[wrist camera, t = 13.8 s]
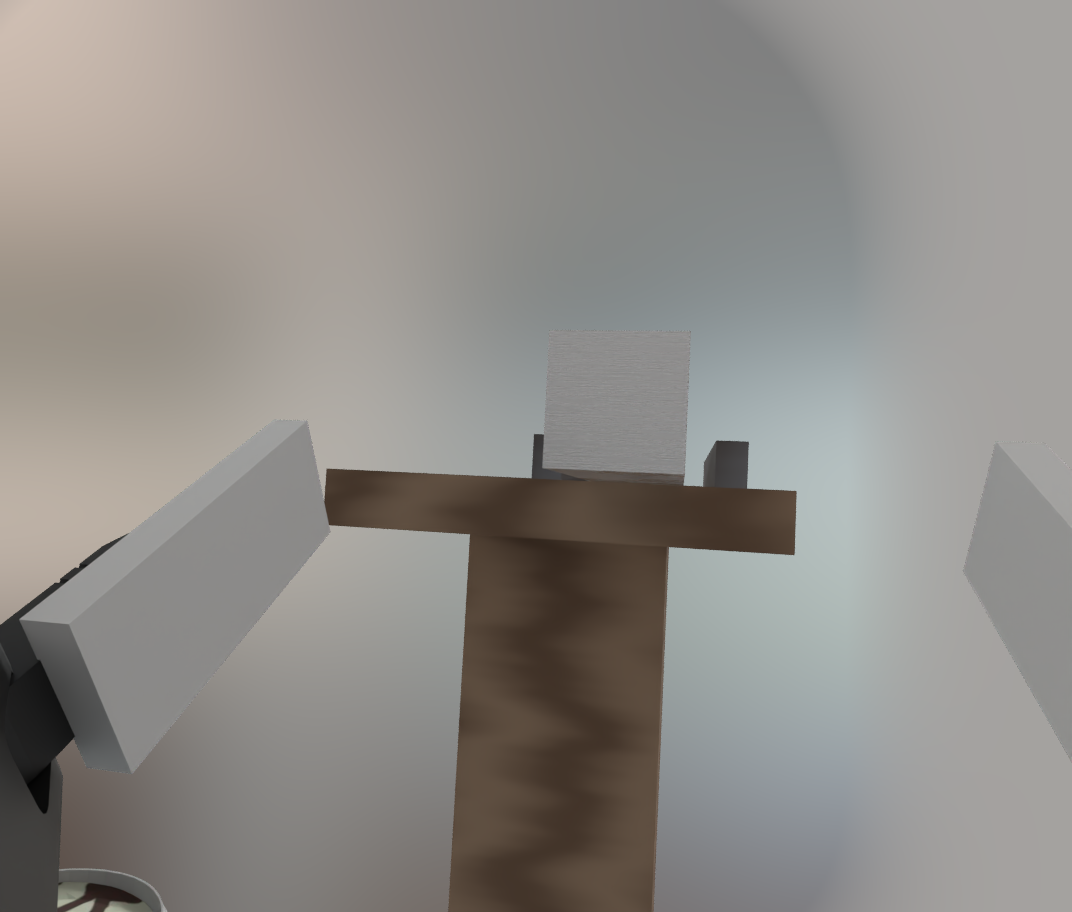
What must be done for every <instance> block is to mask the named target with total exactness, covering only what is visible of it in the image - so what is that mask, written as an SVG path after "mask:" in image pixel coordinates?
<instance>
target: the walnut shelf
mask: <svg viewBox="0 0 1072 912" xmlns="http://www.w3.org/2000/svg"><path fill="white" fill-rule="evenodd" d="M748 445H749V442H739V441H716V442H715V444H714V446H713V448H712V449H711V451H710V453H709V455H708V457H707V458H706V460H705V462H704V480H703V481H704V482H703V487H700V486H679V485H658V484H637V483H616V482H595V481H588V480H584V479H581V478H577V477H573V476H570V475H566V474H562V473H559V472H555V471H551V470H548V469H544V468H542V465H543V446H544V435H542V434H534V446H533V465H532V478H511V477H489V476H469V475H448V474H427V473H407V472H385V471H364V470H343V469H327V473H326V486H325V501H324V504H325V508H326V513H327V518H328V523H329V525H336V526H350V527H366V528H382V529H398V530H413V531H428V532H444V533H459V534H470V545H469V563H468V580H467V598H466V614H465V632H464V633H465V634H464V649H463V666H462V667H463V668H462V683H461V701H460V718H459V735H458V736H459V737H458V752H457V753H458V754H457V771H456V787H455V805H454V822H453V838H452V857H451V873H450V891H449V907H448V908H449V909H448V912H653V911H654V888H655V863H656V840H657V817H658V815H657V814H658V791H659V769H660V745H661V721H662V720H661V719H662V698H663V674H664V650H665V626H666V602H667V579H668V555H669V547H677V548H693V549H709V550H724V551H739V552H754V553H755V552H756V553H770V554H785V555H794V553H795V521H796V491H784V490H763V489H747V474H748V447H749V446H748Z"/></svg>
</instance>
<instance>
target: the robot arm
mask: <svg viewBox="0 0 1072 912" xmlns="http://www.w3.org/2000/svg"><path fill="white" fill-rule="evenodd" d="M329 533H330V528H329V523H328V518H327V513H326V508H325V504H324V500H323V494H322V489H321V485H320V480H319V475H318V470H317V466H316V461H315V456H314V451H313V446H312V441H311V436H310V432H309V427H308V422H307V421H300V420H297V421H296V420H273V421H272V422H271V423H269V424H268V425H267V426H265V427H264V428H263V429H262V430H260V431H259V432H258V433H256V434H255V435H254V436H253V437H251V438H250V439H249V440H248V441H246V442H245V443H244V444H242V445H241V446H240V447H239V448H237V449H236V450H235V451H234V452H232V453H231V454H230V455H229V456H227V457H226V458H225V459H223V460H222V461H221V462H219V463H218V464H217V465H216V466H215V467H213V468H212V469H211V470H209V471H208V472H207V473H205V474H204V475H203V476H202V477H200V478H199V479H198V480H197V481H195V482H194V483H193V484H191V485H190V486H189V487H188V488H186V489H185V490H184V491H183V492H181V493H180V494H179V495H177V496H176V497H175V498H174V499H172V500H171V501H170V502H168V503H167V504H166V505H165V506H163V507H162V508H161V509H159V510H158V511H157V512H156V513H155V514H153V515H152V516H151V517H149V518H148V519H147V520H145V521H144V522H143V523H142V524H140V525H139V526H138V527H137V528H135V529H134V530H133V531H131V532H130V533H128V534H126V535H124V536H122V537H120V538H118V539H116V540H114V541H112V542H110V543H108V544H106V545H104V546H102V547H101V548H100V549H99V550H97V551H96V552H94V553H93V554H92V555H91V556H89V557H88V558H87V559H85V560H84V561H83V562H82V563H80V566H79V568H74V569H72V570H71V571H70V572H69V573H67V574H66V575H65V576H64V577H62V578H61V579H60V583H54V584H53V585H52V586H50V587H49V588H48V589H46V590H45V591H44V592H43V593H41V594H40V595H39V596H37V597H36V598H35V599H34V600H32V601H31V602H30V603H28V604H27V605H26V606H24V607H23V608H22V609H21V610H19V611H18V612H17V613H15V614H14V615H13V616H11V617H10V618H9V619H7V620H6V621H5V622H4V623H2V624H1V625H0V912H57V906H58V881H59V857H60V832H61V807H62V781H63V775H62V772H61V769H60V766H59V764H58V762H57V760H56V758H55V757H56V756H57V755H58V754H59V753H60V752H61V751H62V750H63V749H64V748H65V747H66V746H67V745H68V744H69V742H70V741H71V740H72V739H73V738H74V740H75V743H76V744H77V747H78V749H79V751H80V753H81V756H82V758H83V760H84V762H85V764H86V767H87V768H93V769H100V770H107V771H114V772H122V773H129V774H132V773H133V772H134V771H135V770H136V768H137V767H138V766H139V765H140V764H141V762H142V761H143V760H144V759H145V757H146V756H147V755H148V754H149V753H150V751H151V750H152V749H153V748H154V747H155V745H156V744H157V743H158V742H159V741H160V739H161V738H162V737H163V736H164V734H165V733H166V732H167V731H168V729H169V728H170V727H171V726H172V725H173V723H174V722H175V721H176V720H177V719H178V717H179V716H180V715H181V714H182V713H183V711H184V710H185V709H186V708H187V706H188V705H189V704H190V703H191V702H192V700H193V699H194V698H195V697H196V695H197V694H198V693H199V692H200V691H201V689H202V688H203V687H204V686H205V684H206V683H207V682H208V681H209V680H210V678H211V677H212V676H213V675H214V674H215V672H216V671H217V670H218V669H219V667H220V666H221V665H222V664H223V663H224V661H225V660H226V659H227V658H228V656H229V655H230V654H231V653H232V652H233V650H234V649H235V648H236V646H237V645H238V644H239V643H240V642H241V641H242V639H243V638H244V637H245V636H246V634H247V633H248V632H249V631H250V630H251V628H252V627H253V626H254V625H255V624H256V622H257V621H258V620H259V619H260V618H261V616H262V615H263V613H265V611H266V610H267V609H268V608H269V607H270V605H271V604H272V603H273V602H274V600H275V599H276V598H277V597H278V596H279V594H280V593H281V592H282V591H283V589H284V588H285V587H286V586H287V585H288V583H289V582H290V581H291V580H292V579H293V577H294V576H295V575H296V574H297V572H298V571H299V570H300V569H301V568H302V566H303V565H304V564H305V563H306V561H307V560H308V559H309V558H310V557H311V555H312V554H313V553H314V552H315V550H316V549H317V548H318V547H319V546H320V544H321V543H322V542H323V541H324V539H325V538H326V537H327V536H328V535H329ZM963 572H964V574H965V576H966V577H967V579H968V581H969V582H970V584H971V586H972V588H973V589H974V591H975V593H976V595H977V597H978V598H979V600H980V602H981V604H982V605H983V607H984V609H985V611H986V613H987V614H988V616H989V618H990V619H991V621H992V623H993V625H994V626H995V628H996V630H997V632H998V634H999V635H1000V637H1001V639H1002V641H1003V642H1004V644H1005V646H1006V648H1007V649H1008V651H1009V653H1010V655H1011V656H1012V658H1013V660H1014V662H1015V663H1016V665H1017V667H1018V669H1019V670H1020V672H1021V674H1022V676H1023V678H1024V679H1025V681H1026V683H1027V684H1028V686H1029V688H1030V690H1031V692H1032V693H1033V695H1034V697H1035V699H1036V700H1037V702H1038V704H1039V706H1040V707H1041V709H1042V711H1043V713H1044V714H1045V716H1046V718H1047V719H1048V721H1049V723H1050V725H1051V727H1052V728H1053V730H1054V732H1055V734H1056V736H1057V737H1058V739H1059V741H1060V743H1061V744H1062V746H1063V748H1064V750H1065V751H1066V753H1067V755H1068V757H1069V758H1070V760H1071V762H1072V470H1071V469H1070V468H1069V467H1068V466H1067V465H1066V464H1065V463H1064V462H1063V461H1062V460H1061V459H1060V458H1059V457H1058V456H1057V455H1056V454H1055V453H1054V452H1053V451H1052V450H1051V449H1050V448H1049V447H1048V446H1047V445H1046V444H1045V443H1032V442H1031V443H1030V442H999V441H997V442H995V446H994V450H993V454H992V458H991V462H990V466H989V470H988V474H987V478H986V482H985V486H984V490H983V494H982V498H981V502H980V506H979V510H978V514H977V518H976V522H975V526H974V530H973V534H972V538H971V542H970V546H969V550H968V554H967V558H966V562H965V566H964V570H963Z"/></svg>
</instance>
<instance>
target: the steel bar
mask: <svg viewBox="0 0 1072 912" xmlns="http://www.w3.org/2000/svg"><path fill="white" fill-rule="evenodd" d="M690 333H691V331H584V330H583V331H581V330H578V331H576V330H550V332H549V350H548V369H547V389H546V408H545V427H544V446H543V465H542V468H544V469H548V470H551V471H555V472H559V473H562V474H566V475H570V476H573V477H577V478H581V479H584V480H588V481H595V482H616V483H637V484H658V485H679V486H683V483H684V476H685V456H686V431H687V406H688V383H689V359H690V357H689V356H690Z"/></svg>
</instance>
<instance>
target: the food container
mask: <svg viewBox="0 0 1072 912" xmlns="http://www.w3.org/2000/svg"><path fill="white" fill-rule="evenodd" d="M57 912H167V910H166V908H165V907H164V905H163V903H162V899H161V897H160V895H159V894H158V892H157V891H156V889H154V888H153V887H152V886H151V885H149V884H148V883H147V882H145V881H143V880H141V879H139V878H137V877H135V876H131V875H128V874H125V873H121V872H116V871H110V870H102V869H60V870H59V881H58V906H57Z"/></svg>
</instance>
